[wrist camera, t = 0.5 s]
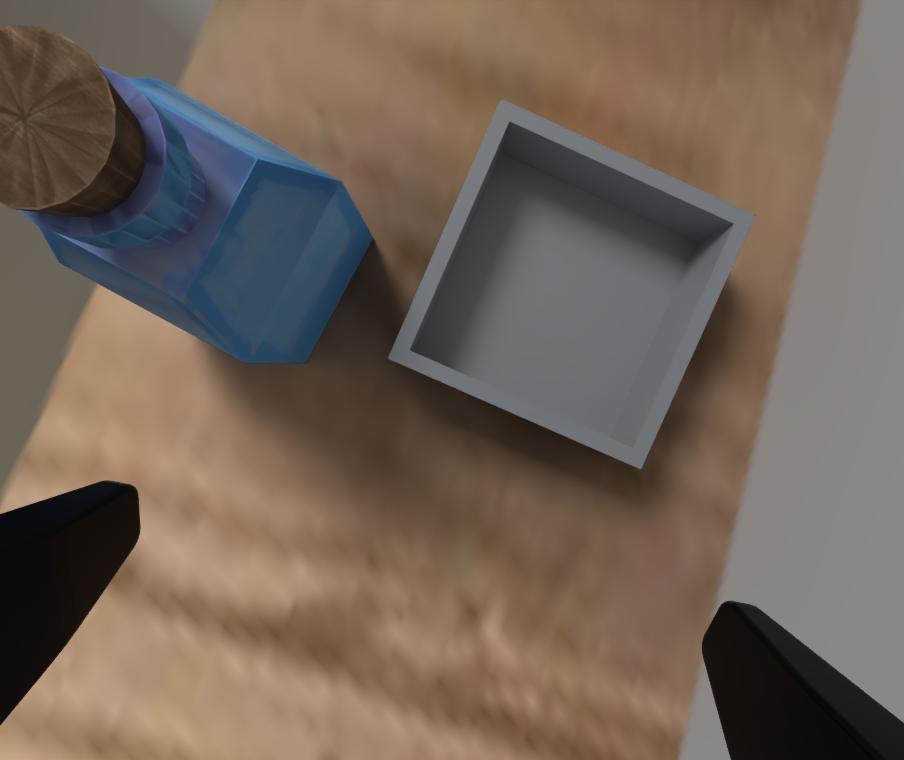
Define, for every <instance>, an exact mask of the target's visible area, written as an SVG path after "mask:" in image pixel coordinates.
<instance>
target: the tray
mask: <svg viewBox="0 0 904 760" xmlns="http://www.w3.org/2000/svg"><path fill="white" fill-rule="evenodd" d="M755 216H756V215H754V214H752V213H750V212H747V211H745V210H743V209H741V208H739V207H737V206H734V205H732V204H730V203H728V202H726V201H723V200H721V199H719V198H717V197H715V196H712V195H710V194H708V193H706V192H704V191H702V190H699V189H697V188H695V187H693V186H691V185H688V184H686V183H684V182H682V181H680V180H677V179H675V178H673V177H671V176H669V175H667V174H664V173H662V172H660V171H658V170H656V169H653V168H651V167H649V166H647V165H645V164H642V163H640V162H638V161H636V160H634V159H632V158H629V157H627V156H625V155H623V154H621V153H618V152H616V151H614V150H612V149H610V148H607V147H605V146H603V145H601V144H599V143H597V142H594V141H592V140H590V139H588V138H586V137H583V136H581V135H579V134H577V133H575V132H572V131H570V130H568V129H566V128H564V127H562V126H559V125H557V124H555V123H553V122H551V121H548V120H546V119H544V118H542V117H540V116H538V115H535V114H533V113H531V112H529V111H527V110H524V109H522V108H520V107H518V106H516V105H513V104H511V103H509V102H507V101H505V100H503V99H501V100H500V102H499V104H498V107H497V109H496V111H495V114H494V116H493V118H492V120H491V123H490V125H489V127H488V130H487V132H486V134H485V136H484V139H483V141H482V143H481V146H480V148H479V150H478V153H477V155H476V157H475V159H474V162H473V164H472V166H471V169H470V171H469V173H468V176H467V178H466V180H465V182H464V185H463V187H462V189H461V192H460V194H459V196H458V199H457V201H456V203H455V205H454V208H453V210H452V212H451V215H450V217H449V219H448V221H447V224H446V226H445V228H444V231H443V233H442V235H441V238H440V240H439V242H438V244H437V247H436V249H435V251H434V254H433V256H432V258H431V261H430V263H429V265H428V267H427V270H426V272H425V274H424V277H423V279H422V281H421V283H420V286H419V288H418V290H417V293H416V295H415V297H414V300H413V302H412V304H411V306H410V309H409V311H408V313H407V316H406V318H405V320H404V323H403V325H402V327H401V329H400V332H399V334H398V336H397V339H396V341H395V343H394V346H393V348H392V350H391V352H390V355H389V357H388V359H390V360H392V361H394V362H397V363H399V364H401V365H403V366H406V367H408V368H410V369H413V370H415V371H417V372H419V373H422V374H424V375H426V376H429V377H431V378H433V379H435V380H438V381H440V382H442V383H445V384H447V385H449V386H451V387H454V388H456V389H458V390H461V391H463V392H465V393H467V394H470V395H472V396H474V397H477V398H479V399H481V400H483V401H486V402H488V403H490V404H493V405H495V406H497V407H499V408H502V409H504V410H506V411H508V412H511V413H513V414H515V415H518V416H520V417H522V418H524V419H527V420H529V421H531V422H534V423H536V424H538V425H540V426H543V427H545V428H547V429H550V430H552V431H554V432H556V433H559V434H561V435H563V436H566V437H568V438H570V439H572V440H575V441H577V442H579V443H582V444H584V445H586V446H588V447H591V448H593V449H595V450H598V451H600V452H602V453H604V454H607V455H609V456H611V457H614V458H616V459H618V460H620V461H623V462H625V463H627V464H629V465H632V466H634V467H636V468H639V469H641V468H642V466H643V464H644V462H645V460H646V457H647V455H648V453H649V451H650V448H651V446H652V444H653V442H654V440H655V437H656V435H657V433H658V431H659V428H660V426H661V424H662V422H663V420H664V417H665V415H666V413H667V411H668V409H669V406H670V404H671V402H672V400H673V397H674V395H675V393H676V391H677V389H678V386H679V384H680V382H681V380H682V377H683V375H684V373H685V371H686V369H687V366H688V364H689V362H690V360H691V358H692V355H693V353H694V351H695V349H696V346H697V344H698V342H699V340H700V338H701V335H702V333H703V331H704V329H705V326H706V324H707V322H708V320H709V318H710V315H711V313H712V311H713V309H714V307H715V304H716V302H717V300H718V298H719V295H720V293H721V291H722V289H723V287H724V284H725V282H726V280H727V278H728V275H729V273H730V271H731V269H732V267H733V264H734V262H735V260H736V258H737V256H738V253H739V251H740V249H741V247H742V244H743V242H744V240H745V238H746V236H747V233H748V231H749V229H750V227H751V224H752V222H753V220H754V218H755Z"/></svg>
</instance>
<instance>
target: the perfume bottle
mask: <svg viewBox="0 0 904 760" xmlns="http://www.w3.org/2000/svg"><path fill="white" fill-rule="evenodd" d="M0 205H1V206H4V207H6V208H9V209H16V210H18V211H19V212H21V213H22V214H23V215H24V216H26V217H27V218H28V219H30V220H31V221H32V222H34V223H35V224H36V225H38V226H39V228H40V230H41V231H42V233H43V235H44V237H45V238H46V240H47V242H48V244H49V245H50V247H51V249H52V251H53V252H54V254H55V256H56V258H57V259H58V261H59V263H61V264H63V265H64V266H67V267H68V268H70V269H72V270H74V271H76V272H77V273H79V274H81V275H83V276H85V277H87V278H88V279H90V280H92V281H94V282H96V283H98V284H99V285H101V286H103V287H105V288H107V289H109V290H111V291H112V292H114V293H116V294H118V295H120V296H122V297H123V298H125V299H127V300H129V301H131V302H133V303H135V304H136V305H138V306H140V307H142V308H144V309H146V310H147V311H149V312H151V313H153V314H155V315H157V316H159V317H160V318H162V319H164V320H166V321H168V322H170V323H171V324H173V325H175V326H177V327H179V328H181V329H183V330H184V331H186V332H188V333H190V334H192V335H194V336H195V337H197V338H199V339H201V340H203V341H205V342H207V343H208V344H210V345H212V346H214V347H216V348H218V349H219V350H221V351H223V352H225V353H227V354H229V355H231V356H232V357H234V358H236V359H238V360H240V361H242V362H243V363H295V364H306V362H307V360H308V358H309V356H310V354H311V353H312V351H313V349H314V347H315V345H316V343H317V341H318V340H319V338H320V336H321V334H322V332H323V330H324V329H325V327H326V325H327V323H328V321H329V319H330V317H331V316H332V314H333V312H334V310H335V308H336V306H337V305H338V303H339V301H340V299H341V297H342V295H343V293H344V292H345V290H346V288H347V286H348V284H349V282H350V281H351V279H352V277H353V275H354V273H355V271H356V269H357V268H358V266H359V264H360V262H361V260H362V258H363V257H364V255H365V253H366V251H367V249H368V247H369V245H370V244H371V242H372V240H373V237H372V235H371V233H370V231H369V229H368V228H367V226H366V224H365V222H364V221H363V219H362V217H361V215H360V213H359V212H358V210H357V208H356V206H355V205H354V203H353V201H352V199H351V197H350V196H349V194H348V192H347V190H346V189H345V187H344V185H343V183H342V181H340V180H338V179H336V178H335V177H333V176H331V175H329V174H327V173H326V172H324V171H322V170H320V169H318V168H317V167H315V166H313V165H311V164H309V163H308V162H306V161H304V160H302V159H300V158H299V157H297V156H295V155H293V154H291V153H290V152H288V151H286V150H284V149H283V148H281V147H279V146H277V145H275V144H274V143H272V142H270V141H268V140H266V139H265V138H263V137H261V136H259V135H257V134H256V133H254V132H252V131H250V130H248V129H247V128H245V127H243V126H241V125H240V124H238V123H236V122H234V121H232V120H231V119H229V118H227V117H225V116H223V115H222V114H220V113H218V112H216V111H214V110H213V109H211V108H209V107H207V106H205V105H204V104H202V103H200V102H198V101H196V100H195V99H193V98H191V97H189V96H188V95H186V94H184V93H182V92H180V91H179V90H177V89H175V88H173V87H171V86H169V85H167V84H166V83H164V82H162V81H161V80H159V79H157V78H124V77H123V76H122V75H121V74H119V73H116V72H113V71H110V70H108V69H105V68H102V67H100V66H98V65H97V64H96V63H95V61H94V60H93V59H92V57H91V56H90V55H89V54H88V53H87V52H85V51H84V50H83V49H81V48H80V47H79V46H78V45H76V44H75V43H74V42H73V41H71V40H70V39H69V38H67V37H66V36H63V35H60V34H57V33H55V32H52V31H49V30H47V29H44V28H41V27H35V26H12V25H10V26H6V27H2V28H0Z"/></svg>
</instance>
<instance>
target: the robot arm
mask: <svg viewBox="0 0 904 760" xmlns="http://www.w3.org/2000/svg"><path fill="white" fill-rule="evenodd" d="M139 535H140V513H139V498H138V491H137V489H136V488H135V487H134V486H132V485H130V484H125V483H120V482H115V481H101V482H98V483H95V484H91V485H88V486H85V487H82V488H79V489H76V490H73V491H70V492H67V493H64V494H61V495H58V496H55V497H52V498H49V499H45V500H42V501H39V502H36V503H33V504H30V505H27V506H24V507H21V508H18V509H15V510H12V511H9V512H6V513H3V514H0V725H1V724H2V723H3V722H4V720H5V719H6V718H7V717H8V716H9V714H10V713H11V712H12V711H13V709H14V708H15V707H16V706H17V705H18V703H19V702H20V701H21V700H22V699H23V697H24V696H25V695H26V694H27V693H28V691H29V690H30V689H31V688H32V686H33V685H34V684H35V683H36V682H37V680H38V679H39V678H40V677H41V676H42V674H43V673H44V672H45V671H46V669H47V668H48V667H49V666H50V665H51V663H52V662H53V661H54V660H55V658H56V657H57V656H58V655H59V653H60V652H61V651H62V650H63V648H64V647H65V646H66V644H67V643H68V642H69V640H70V639H71V638H72V636H73V635H74V633H75V632H76V631H77V629H78V628H79V627H80V625H81V624H82V622H83V621H84V619H85V618H86V616H87V615H88V613H89V612H90V611H91V609H92V608H93V606H94V605H95V603H96V602H97V600H98V599H99V597H100V596H101V595H102V593H103V592H104V590H105V589H106V587H107V586H108V584H109V583H110V581H111V580H112V579H113V577H114V576H115V574H116V573H117V571H118V570H119V568H120V567H121V565H122V564H123V563H124V561H125V560H126V558H127V557H128V555H129V554H130V552H131V551H132V550H133V548H134V546H135V545H136V543H137V541H138V538H139ZM702 654H703V659H704V662H705V666H706V670H707V673H708V677H709V681H710V685H711V688H712V692H713V696H714V699H715V703H716V707H717V711H718V714H719V718H720V722H721V725H722V729H723V733H724V737H725V740H726V744H727V748H728V751H729V755H730V758H731V760H904V723H903V722H902V721H901V720H899V719H898V718H897V717H896V716H894V715H893V714H892V713H890V712H889V711H888V710H887V709H885V708H884V707H883V706H882V705H880V704H879V703H878V702H877V701H875V700H874V699H872V698H871V697H870V696H869V695H867V694H866V693H865V692H864V691H863V690H861V689H860V688H859V687H858V686H856V685H855V684H854V683H852V682H851V681H850V680H849V679H847V678H846V677H845V676H844V675H842V674H841V673H840V672H838V671H837V670H836V669H835V668H833V667H832V666H831V665H830V664H828V663H827V662H826V661H825V660H823V659H822V658H821V657H819V656H818V655H817V654H816V653H814V652H813V651H812V650H811V649H809V648H808V647H807V646H806V645H804V644H803V643H802V642H801V641H799V640H798V639H796V638H795V637H794V636H793V635H792V634H790V633H789V632H788V631H787V630H785V629H784V628H783V627H782V626H780V625H779V624H778V623H776V622H775V621H774V620H773V619H771V618H770V617H769V616H768V615H766V614H765V613H764V612H763V611H761V610H760V609H758V608H757V607H755V606H753V605H750V604H745V603H740V602H734V601H726V602H724V603H723V604H721V606H720V607H719V609H718V611H717V613H716V615H715V616H714V618H713V620H712V622H711V624H710V626H709V627H708V629H707V631H706V633H705V635H704V637H703V641H702Z"/></svg>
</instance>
